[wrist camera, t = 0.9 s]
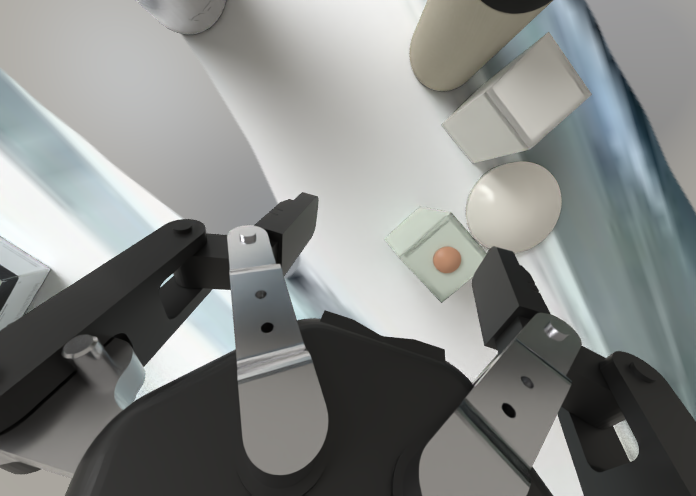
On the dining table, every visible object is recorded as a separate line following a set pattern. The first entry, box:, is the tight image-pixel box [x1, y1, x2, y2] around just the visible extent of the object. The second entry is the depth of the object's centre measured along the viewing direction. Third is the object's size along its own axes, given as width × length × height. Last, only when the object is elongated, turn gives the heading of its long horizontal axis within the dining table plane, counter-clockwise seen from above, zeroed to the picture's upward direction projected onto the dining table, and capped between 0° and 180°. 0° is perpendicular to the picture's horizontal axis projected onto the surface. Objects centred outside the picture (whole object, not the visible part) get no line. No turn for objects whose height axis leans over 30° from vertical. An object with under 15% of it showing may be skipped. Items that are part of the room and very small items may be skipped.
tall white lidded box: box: [441, 32, 592, 163], centre depth 25 cm, size 6×6×10 cm
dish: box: [466, 161, 562, 253], centre depth 32 cm, size 11×11×1 cm
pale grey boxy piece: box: [384, 207, 487, 303], centre depth 28 cm, size 6×6×10 cm
